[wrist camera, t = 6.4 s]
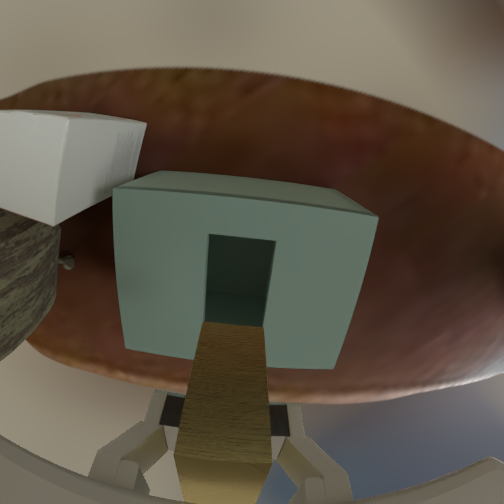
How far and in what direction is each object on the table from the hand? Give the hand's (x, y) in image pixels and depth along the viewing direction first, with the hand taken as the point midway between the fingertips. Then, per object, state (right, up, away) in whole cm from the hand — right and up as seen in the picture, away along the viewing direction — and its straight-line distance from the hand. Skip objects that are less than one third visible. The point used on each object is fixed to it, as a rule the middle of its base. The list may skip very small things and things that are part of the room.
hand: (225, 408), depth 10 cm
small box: (-13, +16, +14) cm, 25 cm away
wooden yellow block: (0, +1, +2) cm, 2 cm away
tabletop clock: (-23, +9, +17) cm, 30 cm away
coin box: (0, +7, +18) cm, 19 cm away
